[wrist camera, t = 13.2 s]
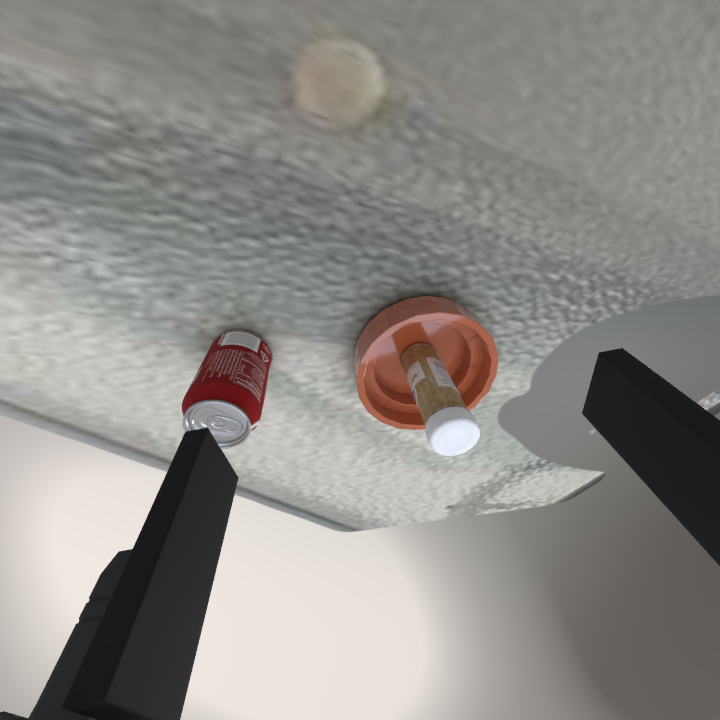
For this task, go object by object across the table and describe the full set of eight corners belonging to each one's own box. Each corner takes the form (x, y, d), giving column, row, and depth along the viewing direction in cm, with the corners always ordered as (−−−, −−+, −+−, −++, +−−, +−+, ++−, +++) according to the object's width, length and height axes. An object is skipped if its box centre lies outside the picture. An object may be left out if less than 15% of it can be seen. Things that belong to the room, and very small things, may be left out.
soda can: (222, 317, 37) (186, 384, 27) (282, 341, 39) (269, 411, 29) (204, 364, 40) (165, 441, 30) (260, 384, 42) (242, 461, 32)
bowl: (429, 264, 36) (444, 280, 32) (503, 351, 43) (522, 374, 39) (326, 356, 41) (326, 381, 37) (407, 421, 48) (415, 448, 44)
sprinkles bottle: (393, 352, 40) (422, 435, 29) (428, 334, 40) (471, 412, 28) (409, 378, 43) (441, 464, 32) (443, 362, 42) (488, 444, 31)
